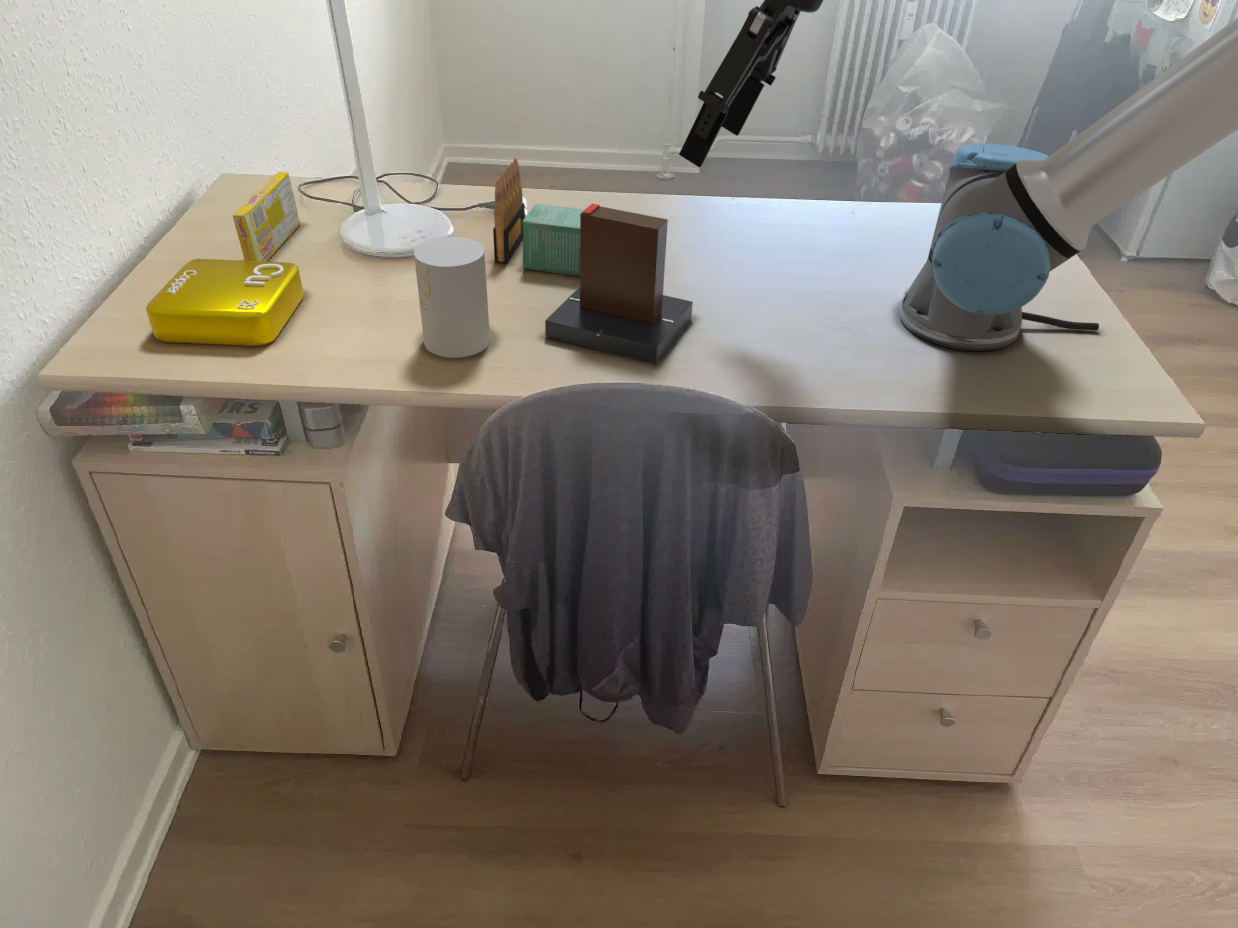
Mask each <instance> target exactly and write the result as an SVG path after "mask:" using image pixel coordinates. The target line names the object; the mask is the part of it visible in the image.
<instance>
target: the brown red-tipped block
mask: <svg viewBox="0 0 1238 928" xmlns="http://www.w3.org/2000/svg"><path fill="white" fill-rule="evenodd" d="M584 209H585V210H584V211H582V213H581V214H580V276H579V287H580V307H581V308H585V309H590V310H594V311H598V312H603V313H607V314H611V315H616V316H620V317H624V318H628V319H633V320H637V321H641V322H646V323H650V324H653V323H654V322H655V321H656V319H657V318H658V317H659V316H660V314H661V313H662V300H663V295H664V284H665V283H664V282H665V269H666V254H667V253H666V252H667V239H668V222H669V219H668V218H663V217H656V216H652V215H647V214H643V213H637V212H632V211H627V210H622V209H616V208H612V207H611V208H610V207H605V206H601V205H600V204H598V203H591V204H590V205H588V206H587V207H586V208H584Z"/></svg>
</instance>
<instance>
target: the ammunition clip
mask: <svg viewBox="0 0 1238 928" xmlns="http://www.w3.org/2000/svg"><path fill="white" fill-rule="evenodd" d="M520 169H521V168H520V165H519V161H518V159H517V158H516V157H514V159H513V161H511V162H510V165H509V166H507V168H506V170H504V171H503V174H501V175H500V176H499V179H497V180H496V182H495V186H494V207H493V218H494V220H493V221H494V227H493V228H492V234H493V254H494V255H493V256H494V263H495V264H496V263H497V264H508V263H509V262H510V260H511V259H512V257H513V256H514V254H515V252H516V251H517V249H518V248H519V247H520V245H521V243H523V220H524V218H525V217H526V209H525V203H524V202H523V201H524V200H523V186H522V180H521V179H522V178H521V171H520Z"/></svg>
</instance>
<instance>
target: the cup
mask: <svg viewBox="0 0 1238 928" xmlns="http://www.w3.org/2000/svg"><path fill="white" fill-rule="evenodd" d="M413 257H414V266H415V267H414V268H415V274H416V283H417V292H418V301H419V310H420V311H419V312H420V318H421V320H420V321H421V327H422V336H423V345H424V347H425V349H426V350H427V351H428V352H429V353H431V354H433V355H435V356H438V357H443V358H448V359H449V358H450V359H460V358H467V357H472V356H474V355H477V354H480V353H481V352H483V351H484V350H486V349H487V347H489V345H490V342H491V331H490V316H489V301H488V299H489V298H488V286H487V285H488V284H487V269H486V268H487V267H486V253H485V247H484V245H482V243H480V242H479V241H477V240H475V239H472V238H468V237H463V236H442V237H437V238H432V239H428V240H426V241H423V242H422V243H420V244H418V245H417V246H416V247H415V249H414V250H413Z"/></svg>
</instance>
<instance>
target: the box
mask: <svg viewBox="0 0 1238 928" xmlns="http://www.w3.org/2000/svg"><path fill="white" fill-rule="evenodd" d="M585 209H586V208H576V207H567V206H559V205H551V204H543V203H535V204H534V205H533V206H532V208H531V209H530V211H529V212H528V213H527V215H525V218H524V220H523V240H522V267H523V270H530V271H531V270H532V271H539V272H546V273H547V272H548V273H555V274H563V275H572V276H578V277H580V214H581V213H582V211H584V210H585Z"/></svg>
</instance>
